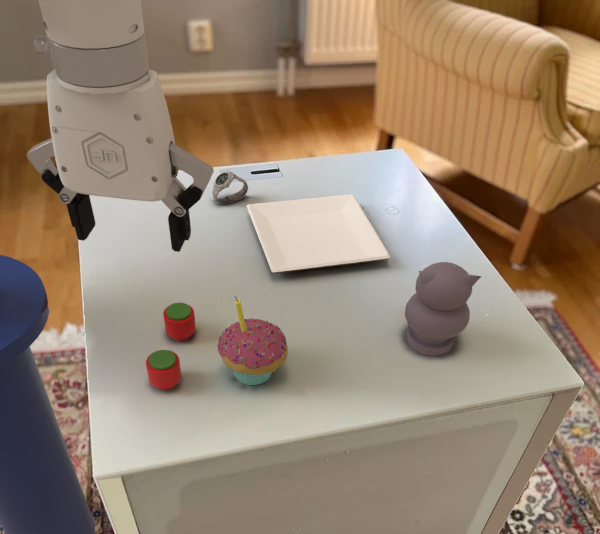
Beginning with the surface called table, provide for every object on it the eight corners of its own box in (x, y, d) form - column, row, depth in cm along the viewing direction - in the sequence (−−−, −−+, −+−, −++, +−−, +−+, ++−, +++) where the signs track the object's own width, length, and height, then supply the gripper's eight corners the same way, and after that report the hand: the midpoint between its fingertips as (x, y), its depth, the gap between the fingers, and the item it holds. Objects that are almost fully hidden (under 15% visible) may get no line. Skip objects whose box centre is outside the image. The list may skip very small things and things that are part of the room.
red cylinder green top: (147, 394, 78) (143, 370, 75) (152, 370, 81) (147, 346, 78) (180, 394, 79) (177, 370, 75) (183, 371, 81) (180, 347, 78)
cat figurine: (456, 322, 90) (478, 251, 81) (465, 361, 85) (489, 289, 76) (397, 319, 90) (412, 247, 81) (401, 357, 85) (418, 285, 76)
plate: (352, 203, 110) (353, 192, 109) (389, 267, 98) (391, 256, 97) (246, 214, 106) (245, 203, 105) (271, 282, 94) (272, 271, 93)
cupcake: (213, 390, 79) (207, 317, 70) (227, 344, 85) (224, 271, 76) (281, 400, 79) (284, 327, 70) (291, 353, 84) (295, 280, 76)
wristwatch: (210, 199, 109) (208, 172, 105) (243, 192, 111) (242, 165, 107) (218, 209, 107) (216, 182, 103) (251, 202, 109) (251, 174, 105)
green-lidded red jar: (173, 348, 84) (170, 324, 81) (161, 330, 86) (157, 306, 83) (201, 338, 86) (199, 314, 82) (188, 321, 88) (186, 297, 85)
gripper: (-24, 64, 50) (35, 249, 62) (193, 86, 49) (208, 270, 61) (18, 31, 55) (65, 209, 67) (215, 50, 54) (225, 227, 66)
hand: (133, 238), depth 64 cm, fingers open, 9 cm apart
